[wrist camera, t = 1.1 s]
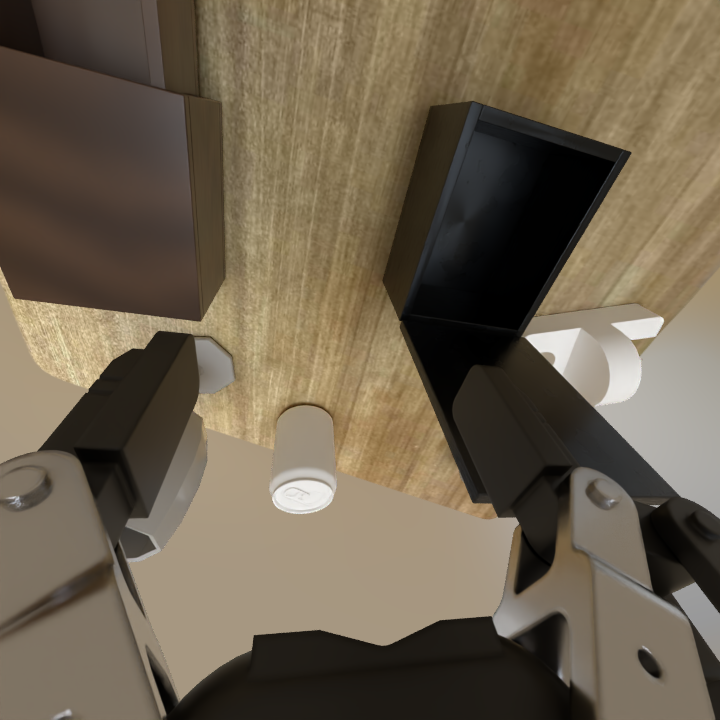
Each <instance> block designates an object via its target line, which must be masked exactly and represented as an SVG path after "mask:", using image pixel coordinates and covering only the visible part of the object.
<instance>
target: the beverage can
mask: <svg viewBox="0 0 720 720" xmlns="http://www.w3.org/2000/svg"><path fill="white" fill-rule="evenodd" d="M336 487H337V477H336V461H335V446H334V431H333V421H332V418H331V416H330V415H329V414H328V413H327V412H326V411H324V410H323V409H321V408H318V407H315V406H309V405H303V406H296V407H293V408H290V409H288V410H286V411H285V412H284V413H283V414H282V415H281V416H280V417H279V419H278V421H277V426H276V435H275V443H274V452H273V460H272V468H271V476H270V485H269V489H270V493H271V496H272V500H273V503H274V504H275V506H276V507H277V508H279V509H281V510H283V511H285V512H289V513H295V514H305V513H312V512H316V511H319V510H321V509H323V508H325V507H326V506H328V505H329V504H330V503H331V501H332V500H333V496H334V493H335V490H336Z"/></svg>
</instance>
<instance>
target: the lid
mask: <svg viewBox="0 0 720 720" xmlns="http://www.w3.org/2000/svg"><path fill="white" fill-rule="evenodd" d="M400 330H401V332H402V334H403V337H404V339H405V342H406V344H407V346H408V349H409V351H410V354H411V356H412V358H413V361H414V363H415V366H416V368H417V370H418V373H419V375H420V378H421V380H422V382H423V385H424V387H425V390H426V392H427V394H428V397H429V399H430V402H431V404H432V406H433V409H434V411H435V414H436V416H437V418H438V421H439V423H440V426H441V428H442V430H443V433H444V435H445V438H446V440H447V442H448V445H449V447H450V450H451V452H452V455H453V457H454V459H455V462H456V464H457V467H458V469H459V471H460V474H461V476H462V479H463V481H464V483H465V486H466V488H467V491H468V493H469V495H470V498H471V500H472V502H473V503H491V500H490V498H489V496H488V494H487V492H486V489H485V487H484V485H483V483H482V480H481V478H480V476H479V474H478V472H477V469H476V467H475V465H474V463H473V460H472V458H471V456H470V454H469V452H468V449H467V447H466V445H465V443H464V441H463V438H462V436H461V434H460V432H459V429H458V427H457V425H456V423H455V421H454V418H453V412H452V408H453V402H454V399H455V397H456V395H457V394H458V392H459V390H460V388H461V386H462V384H463V382H464V380H465V378H466V376H467V374H468V372H469V371H470V369H471V368H472V367H473V366H474V365H485V366H495V367H500V368H502V369H503V370H504V371H505V373H506V374H507V376H508V377H509V378H510V380H511V381H512V382H513V384H514V385H515V386H516V387H518V388H519V389H520V390H521V391H522V392H524V393H525V394H526V395H527V396H528V397H529V398H530V399H531V401H532V402H533V403H534V405H535V406H536V407H537V409H538V412H540V413H541V414H542V415H543V417H544V418H545V419H546V423H547V424H549V425H550V426H551V427H552V429H553V430H554V431H555V433H556V434H557V435H558V437H559V438H560V439H561V441H562V442H563V443H564V445H565V446H566V447H567V449H568V450H569V451H570V453H571V454H572V455H573V457H574V458H575V459H576V461H577V462H578V463H579V465H580V466H581V467H587V468H592V469H594V470H597V471H599V472H601V473H603V474H605V475H607V476H608V477H610V478H611V479H612V480H614V481H615V482H616V483H618V484H619V485H620V486H621V487H622V488H623V489H624V490H625V491H626V492H627V494H628V495H629V496H630V497H631V499H632V500H634V501H637V502H640V503H644V504H647V505H661V504H663V503H664V502H666V501H667V500H669V499H670V498H672V497H680V496H679V495H678V494H677V493H676V492H675V491H674V490H673V489H672V487H671V486H670V485H669V484H668V483H667V482H666V481H665V480H664V479H663V478H662V477H661V476H660V475H659V474H658V473H657V472H656V471H655V470H654V469H653V468H652V467H651V466H650V465H649V464H648V463H647V462H646V461H645V460H644V459H643V458H642V457H641V456H640V455H639V454H638V453H637V452H636V451H635V450H634V449H633V448H632V447H631V446H630V445H629V443H627V442H626V440H625V439H624V438H622V436H621V435H620V434H619V433H618V432H617V431H616V430H615V429H614V428H613V427H612V426H611V425H610V424H609V423H608V422H607V421H606V420H605V419H604V418H603V417H602V416H601V415H600V414H599V413H598V412H597V411H596V410H595V409H594V408H593V407H592V406H591V404H590V403H589V402H588V401H587V400H586V399H585V398H584V397H583V396H582V395H581V394H580V393H579V392H578V391H577V390H576V389H575V388H574V387H573V386H572V385H571V384H570V383H569V382H568V381H567V380H566V379H565V378H564V377H563V376H562V375H561V374H560V373H559V372H558V371H557V370H556V369H555V368H554V367H553V366H552V365H551V364H550V362H549V361H548V360H547V359H546V358H545V357H544V356H543V355H542V354H541V353H540V352H539V351H538V350H537V349H536V348H535V347H534V346H533V345H532V344H531V343H530V342H529V341H528V340H527V339H526V338H524V337H518V336H511V335H504V334H497V333H490V332H483V331H476V330H469V329H462V328H455V327H448V326H441V325H434V324H427V323H420V322H413V321H406V320H402V321H401V324H400Z"/></svg>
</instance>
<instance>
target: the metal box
mask: <svg viewBox="0 0 720 720" xmlns="http://www.w3.org/2000/svg"><path fill="white" fill-rule="evenodd" d="M630 155H631V152H630V151H626V150H623V149H620V148H617V147H614V146H611V145H608V144H605V143H602V142H599V141H596V140H592V139H589V138H586V137H583V136H580V135H577V134H574V133H571V132H568V131H564V130H561V129H558V128H555V127H552V126H549V125H546V124H543V123H540V122H536V121H533V120H530V119H527V118H524V117H521V116H518V115H515V114H512V113H508V112H505V111H502V110H499V109H496V108H493V107H490V106H487V105H483V104H480V103H477V102H474V101H469V102H461V103H453V104H445V105H437V106H431V107H430V110H429V114H428V118H427V121H426V125H425V128H424V132H423V136H422V139H421V143H420V147H419V150H418V154H417V158H416V161H415V165H414V169H413V172H412V176H411V179H410V183H409V187H408V190H407V194H406V198H405V201H404V205H403V209H402V212H401V216H400V220H399V223H398V227H397V230H396V234H395V238H394V241H393V245H392V249H391V252H390V256H389V260H388V263H387V267H386V271H385V274H384V278H383V283H384V286H385V288H386V290H387V293H388V295H389V297H390V300H391V302H392V304H393V307H394V309H395V311H396V314H397V316H398V318H399V320H400V321H402V320H406V321H413V322H420V323H427V324H434V325H441V326H448V327H455V328H462V329H469V330H476V331H483V332H490V333H497V334H504V335H511V336H518V337H522V335H523V333H524V332H525V330H526V328H527V327H528V325H529V323H530V322H531V320H532V318H533V317H534V315H535V313H536V312H537V310H538V308H539V307H540V305H541V303H542V302H543V300H544V298H545V297H546V295H547V293H548V292H549V290H550V288H551V287H552V285H553V283H554V282H555V280H556V278H557V277H558V275H559V273H560V272H561V270H562V268H563V267H564V265H565V263H566V262H567V260H568V258H569V257H570V255H571V253H572V252H573V250H574V248H575V247H576V245H577V243H578V242H579V240H580V238H581V237H582V235H583V233H584V232H585V230H586V228H587V227H588V225H589V223H590V222H591V220H592V218H593V217H594V215H595V213H596V212H597V210H598V208H599V207H600V205H601V203H602V202H603V200H604V198H605V197H606V195H607V193H608V192H609V190H610V188H611V187H612V185H613V183H614V182H615V180H616V178H617V177H618V175H619V173H620V172H621V170H622V168H623V167H624V165H625V163H626V162H627V160H628V158H629V157H630Z"/></svg>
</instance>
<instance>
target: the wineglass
mask: <svg viewBox="0 0 720 720" xmlns="http://www.w3.org/2000/svg"><path fill="white" fill-rule="evenodd" d="M194 339H195V345H196V354H197V362H198V370H199V379H200V386H199V393H216V392H217V391H219V390H221V389H222V388H224V387H226V386H227V385H229V384H231V383H232V382H234V381H235V373H234V367H233V361H232V356H231V355H230V354H228V353H227V352H226V351H225V350H224V349H223V348H222V347H221V346H219V345H218V344H217V343H216V342H215V341H214V340H213V339H212V338H210V337H194ZM206 463H207V434H206V430H205V426H204V422H203V418H202V417H200V416H199V415H198V414H196V413H195V412H193V411H192V414H191V416H190V419H189V421H188V423H187V426H186V428H185V431H184V433H183V435H182V438H181V440H180V443H179V445H178V448H177V450H176V452H175V455H174V457H173V460H172V462H171V464H170V467H169V469H168V472H167V474H166V476H165V479H164V481H163V484H162V486H161V489H160V491H159V493H158V496H157V498H156V501H155V503H154V505H153V508H152V510H151V513H150V515H149V517H148V518H135V519H128V521H127V524H126V526H125V528H124V530H123V532H122V534H121V537H120V542H121V544H122V547H123V550H124V553H125V555H126V558H127V561H128V562H137V561H142V560H144V559H146V558H148V557H150V556H152V555H154V554H156V553H158V552H160V551H161V550H162V549H163V548H164V546H165V545H166V543H167V542H168V540H169V539H170V538H171V536H172V535H173V533H174V532H175V531H176V529H177V527H178V526H179V525H180V523H181V522H182V520H183V518H184V516H185V514H186V512H187V510H188V508H189V506H190V504H191V502H192V500H193V498H194V496H195V494H196V492H197V490H198V488H199V486H200V483H201V479H202V476H203V473H204V470H205V467H206Z"/></svg>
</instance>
